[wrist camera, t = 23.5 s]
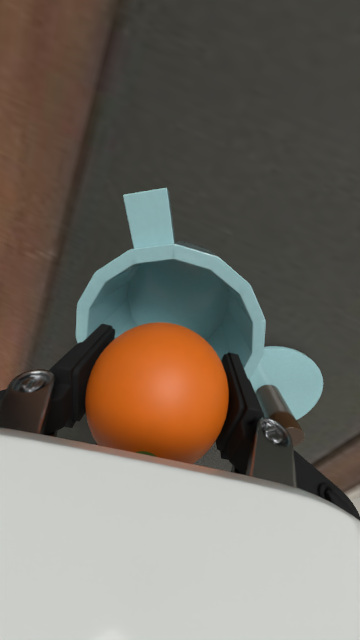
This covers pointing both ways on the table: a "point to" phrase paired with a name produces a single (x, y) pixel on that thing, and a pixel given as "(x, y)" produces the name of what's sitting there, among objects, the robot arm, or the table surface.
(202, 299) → the pot
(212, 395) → the orange
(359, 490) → the table surface
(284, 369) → the pot lid
